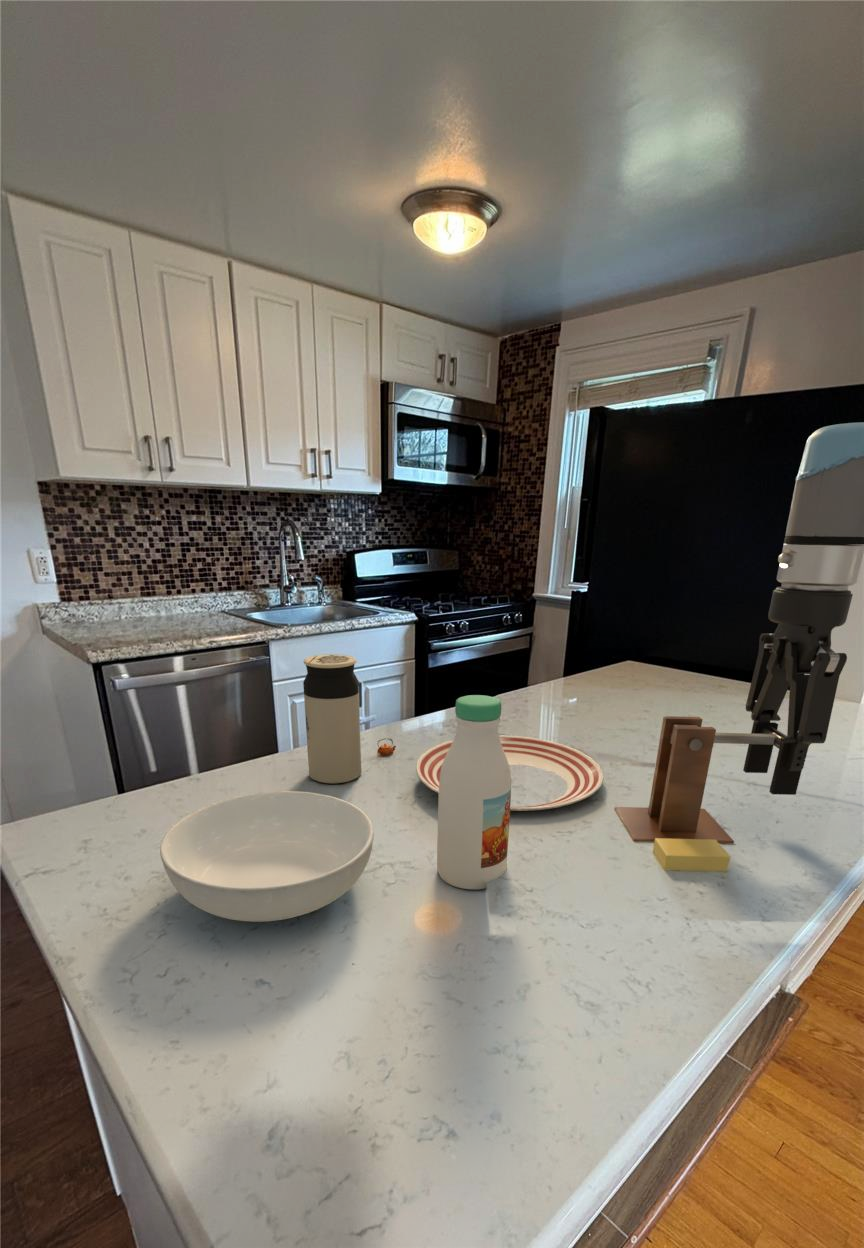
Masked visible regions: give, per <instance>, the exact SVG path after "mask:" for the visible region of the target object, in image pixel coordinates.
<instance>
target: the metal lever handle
mask: <svg viewBox="0 0 864 1248" xmlns="http://www.w3.org/2000/svg"><path fill="white" fill-rule="evenodd" d="M675 726H682V727H698V726H697V725H673V730H672V736H671V741H670V743H671V744H672V742H673V736H674V731H675ZM780 738H787V734H785V733H783V732H782V731H780V730H778V728H777V729H775V728H773V727H772V726H769V725H767V726H764V727H762V728H761V730H760V734H751V733H744V732H743V733H741V732H738V733H737V732H716V733H715V738H714V743H713V744H730V745H731V744H733V745H734V744H735V745H736V744H737V745H749V744H765V745H774V746H773V747H775V748H777V749H779V748H780V744H781V740H780Z"/></svg>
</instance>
